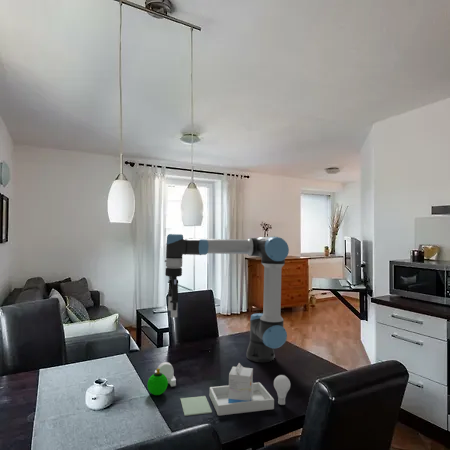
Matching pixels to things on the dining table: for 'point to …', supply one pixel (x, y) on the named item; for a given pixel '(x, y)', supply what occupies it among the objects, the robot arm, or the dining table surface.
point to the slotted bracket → (167, 372)
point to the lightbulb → (281, 388)
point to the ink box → (240, 384)
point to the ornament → (157, 383)
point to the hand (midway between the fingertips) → (172, 313)
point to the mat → (195, 405)
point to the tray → (258, 403)
